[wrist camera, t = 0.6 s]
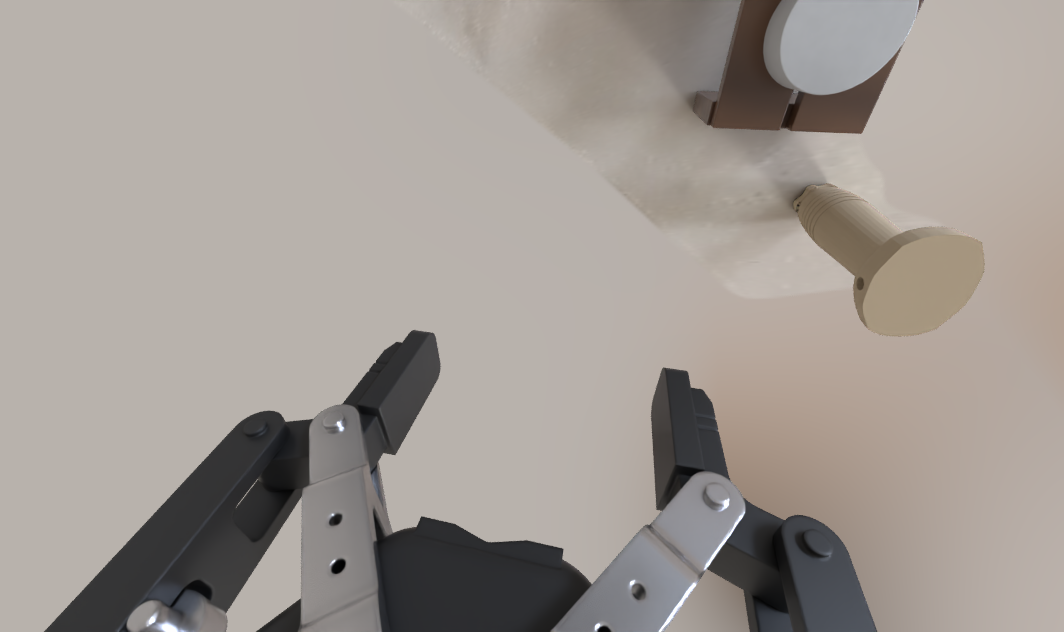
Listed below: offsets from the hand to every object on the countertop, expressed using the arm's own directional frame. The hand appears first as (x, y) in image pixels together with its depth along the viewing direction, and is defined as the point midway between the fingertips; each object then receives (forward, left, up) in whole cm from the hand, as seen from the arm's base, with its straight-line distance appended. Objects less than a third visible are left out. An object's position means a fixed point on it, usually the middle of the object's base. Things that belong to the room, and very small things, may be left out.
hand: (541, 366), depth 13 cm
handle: (+2, +19, -27) cm, 33 cm away
